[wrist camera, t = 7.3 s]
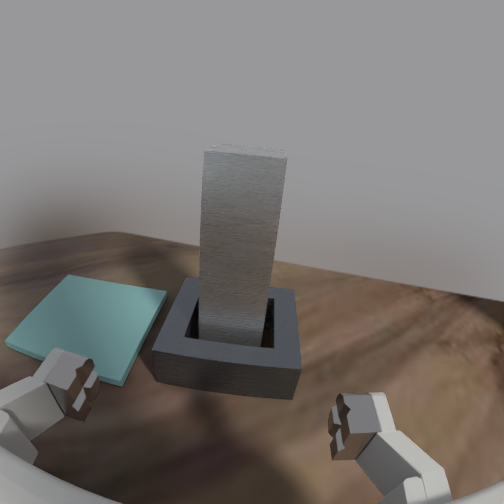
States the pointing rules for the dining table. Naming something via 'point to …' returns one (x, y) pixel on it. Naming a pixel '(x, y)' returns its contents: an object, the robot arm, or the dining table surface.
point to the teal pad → (91, 324)
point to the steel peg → (238, 240)
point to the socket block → (229, 350)
